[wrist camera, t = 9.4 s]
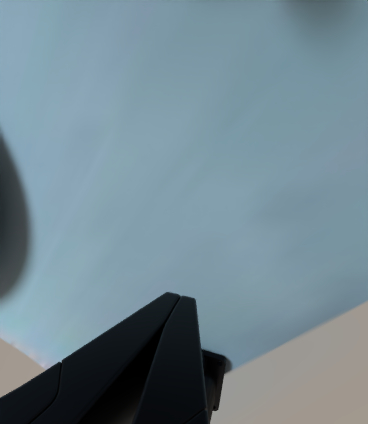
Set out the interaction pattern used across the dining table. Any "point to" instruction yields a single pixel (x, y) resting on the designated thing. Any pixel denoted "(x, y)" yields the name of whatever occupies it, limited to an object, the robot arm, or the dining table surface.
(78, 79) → the dining table surface
